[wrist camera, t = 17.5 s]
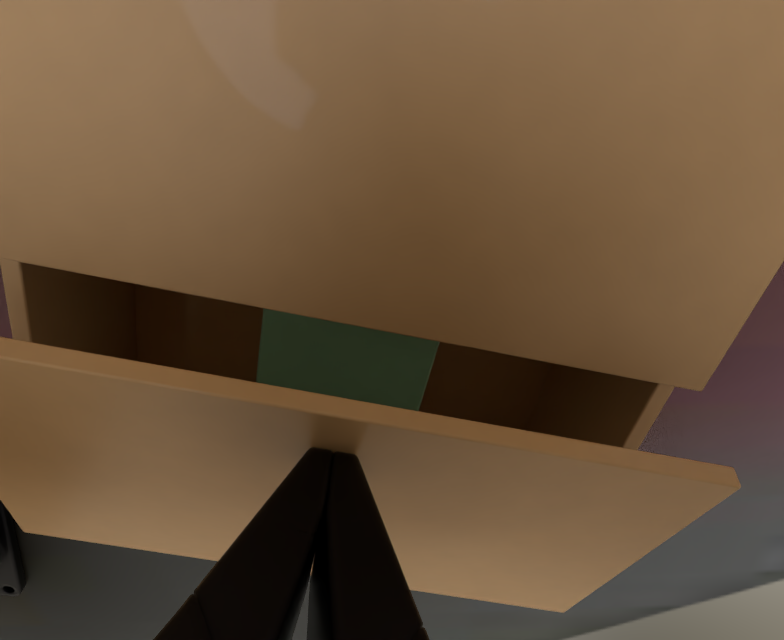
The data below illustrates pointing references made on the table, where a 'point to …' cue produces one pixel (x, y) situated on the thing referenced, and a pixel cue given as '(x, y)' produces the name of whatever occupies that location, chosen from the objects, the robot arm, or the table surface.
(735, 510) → the table surface
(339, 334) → the block
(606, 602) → the table surface
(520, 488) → the flap
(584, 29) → the carton
